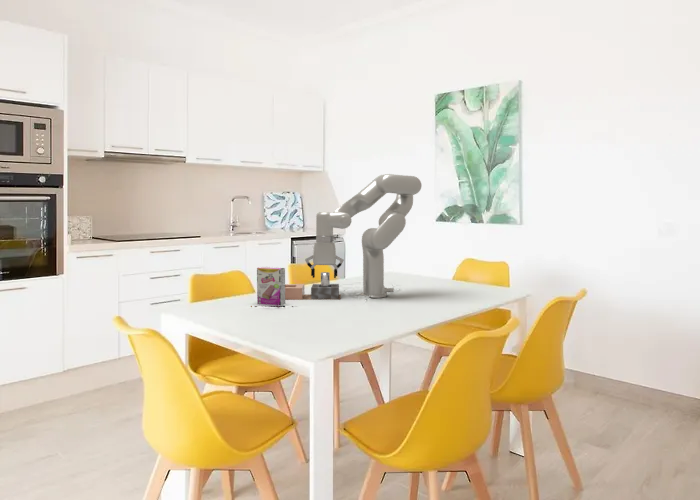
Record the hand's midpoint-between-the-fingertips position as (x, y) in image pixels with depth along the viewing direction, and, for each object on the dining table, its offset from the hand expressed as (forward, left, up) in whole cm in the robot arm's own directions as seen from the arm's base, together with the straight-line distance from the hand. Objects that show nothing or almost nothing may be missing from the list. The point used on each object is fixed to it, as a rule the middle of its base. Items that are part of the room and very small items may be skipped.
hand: (324, 277), depth 249 cm
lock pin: (0, 0, -9) cm, 9 cm away
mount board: (+8, 0, -10) cm, 12 cm away
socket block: (+16, 0, -9) cm, 18 cm away
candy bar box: (+22, +16, -10) cm, 29 cm away
